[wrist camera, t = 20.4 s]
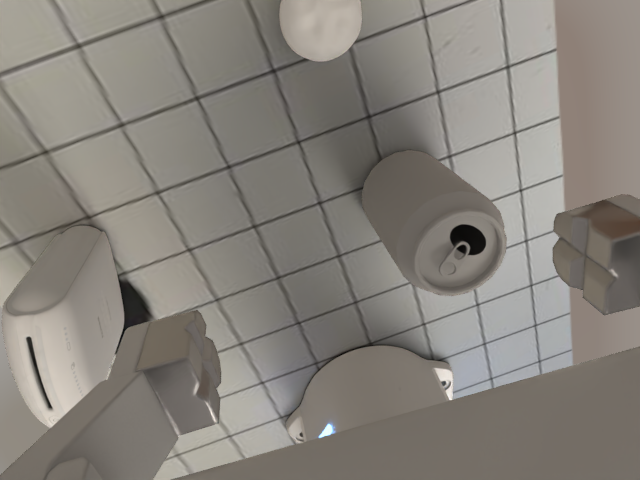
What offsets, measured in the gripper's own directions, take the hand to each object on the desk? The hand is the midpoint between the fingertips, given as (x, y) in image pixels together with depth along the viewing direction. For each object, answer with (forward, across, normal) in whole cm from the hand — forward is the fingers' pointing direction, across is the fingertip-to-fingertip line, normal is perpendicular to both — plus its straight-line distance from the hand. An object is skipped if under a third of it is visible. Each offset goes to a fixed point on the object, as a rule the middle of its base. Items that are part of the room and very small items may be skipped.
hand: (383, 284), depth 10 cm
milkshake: (+27, -3, -5) cm, 28 cm away
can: (+27, -8, +10) cm, 30 cm away
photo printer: (+27, +19, +11) cm, 35 cm away
